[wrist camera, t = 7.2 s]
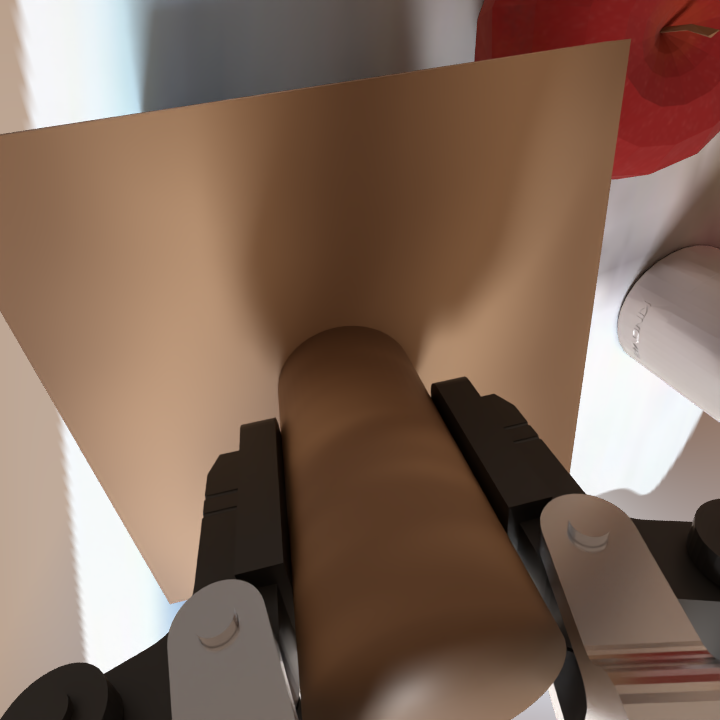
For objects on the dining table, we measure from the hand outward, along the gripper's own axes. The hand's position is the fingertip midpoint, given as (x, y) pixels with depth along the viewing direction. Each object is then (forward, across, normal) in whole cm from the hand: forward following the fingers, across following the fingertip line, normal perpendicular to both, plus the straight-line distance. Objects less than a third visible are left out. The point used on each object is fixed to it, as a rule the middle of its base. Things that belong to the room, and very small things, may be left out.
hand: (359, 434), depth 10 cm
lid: (+3, 0, 0) cm, 3 cm away
